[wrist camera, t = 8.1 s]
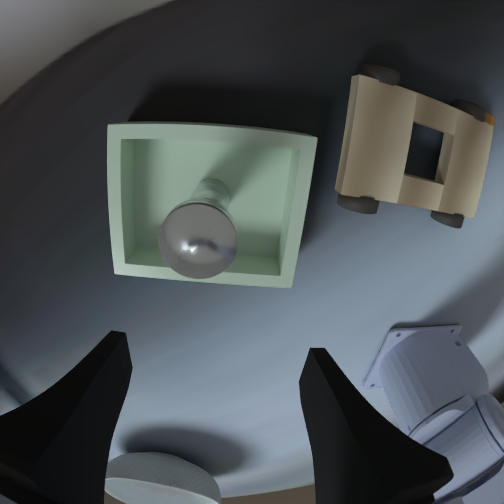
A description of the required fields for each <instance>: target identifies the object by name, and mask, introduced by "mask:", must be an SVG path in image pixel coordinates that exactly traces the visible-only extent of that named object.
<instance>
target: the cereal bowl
mask: <svg viewBox="0 0 504 504" xmlns="http://www.w3.org/2000/svg"><path fill="white" fill-rule="evenodd" d="M105 491H106V492H107V493H109V494H110V495H111V496H113V497H115V498H117V499H118V500H121V501H123V502H125V503H127V504H221V494H220V490H219V487H218V484H217V482H216V481H215V479H213V477H212V476H211V475H210V474H209V473H207V472H206V471H204V470H203V469H201V468H200V467H198V466H196V465H194V464H192V463H189V462H187V461H185V460H184V459H182V458H180V457H177V456H174V455H171V454H167V453H161V452H144V453H127V454H123V455H120V456H118V457H116V458H114V459H113V460H111V461H110V462H109V463H108V465H107V471H106V479H105Z"/></svg>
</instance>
